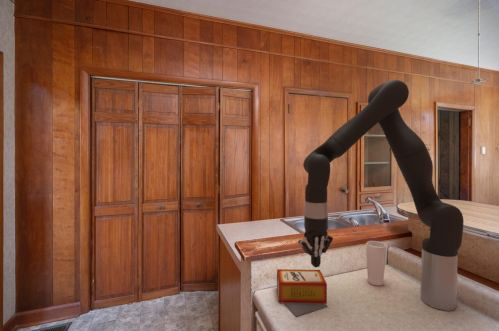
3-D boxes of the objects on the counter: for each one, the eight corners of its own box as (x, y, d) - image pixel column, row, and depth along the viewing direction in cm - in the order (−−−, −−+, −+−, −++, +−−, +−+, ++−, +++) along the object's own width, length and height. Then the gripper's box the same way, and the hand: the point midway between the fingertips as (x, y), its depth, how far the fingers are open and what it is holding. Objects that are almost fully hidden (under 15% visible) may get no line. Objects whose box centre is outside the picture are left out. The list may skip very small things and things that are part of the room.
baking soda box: (326, 283, 80) (277, 283, 81) (326, 303, 81) (277, 302, 81) (319, 269, 90) (276, 269, 90) (319, 287, 90) (276, 286, 91)
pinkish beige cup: (389, 287, 90) (390, 247, 89) (370, 287, 90) (371, 247, 89) (379, 277, 97) (380, 240, 96) (362, 277, 97) (363, 240, 96)
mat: (306, 289, 89) (306, 288, 89) (327, 306, 79) (327, 305, 79) (278, 297, 85) (277, 296, 85) (296, 317, 74) (296, 315, 74)
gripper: (306, 220, 75) (306, 275, 76) (339, 215, 80) (339, 267, 81) (292, 214, 81) (292, 265, 82) (324, 210, 87) (324, 258, 88)
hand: (315, 266), depth 82 cm, fingers closed
